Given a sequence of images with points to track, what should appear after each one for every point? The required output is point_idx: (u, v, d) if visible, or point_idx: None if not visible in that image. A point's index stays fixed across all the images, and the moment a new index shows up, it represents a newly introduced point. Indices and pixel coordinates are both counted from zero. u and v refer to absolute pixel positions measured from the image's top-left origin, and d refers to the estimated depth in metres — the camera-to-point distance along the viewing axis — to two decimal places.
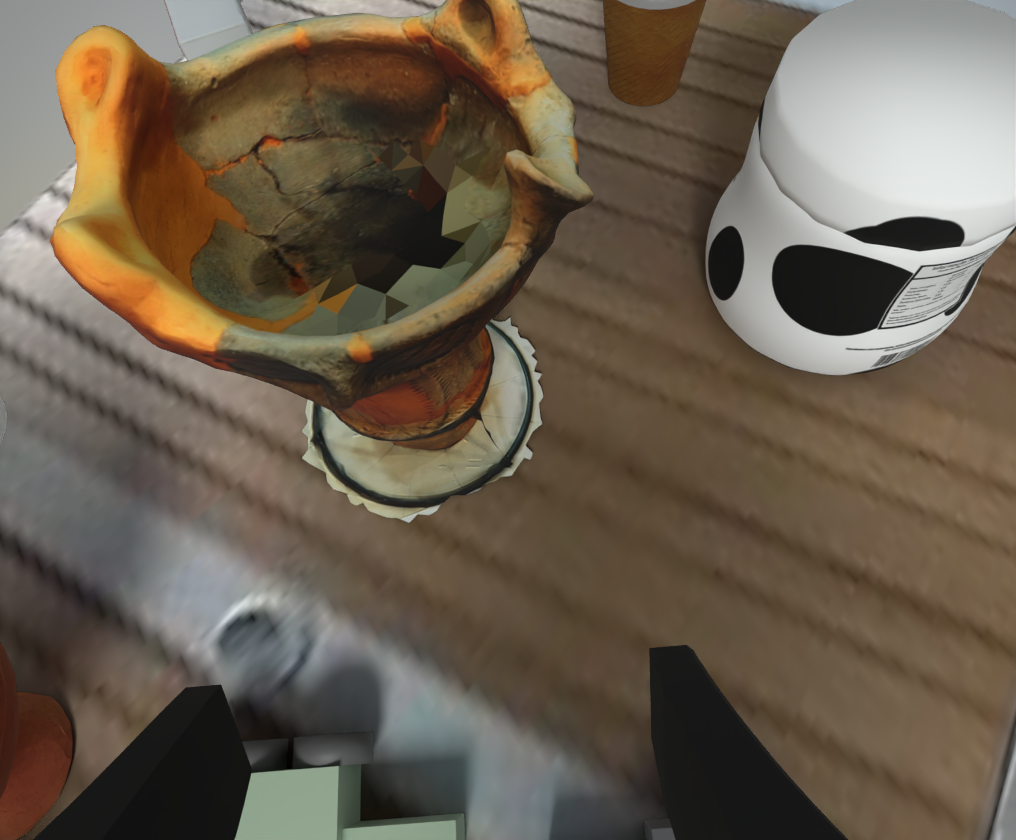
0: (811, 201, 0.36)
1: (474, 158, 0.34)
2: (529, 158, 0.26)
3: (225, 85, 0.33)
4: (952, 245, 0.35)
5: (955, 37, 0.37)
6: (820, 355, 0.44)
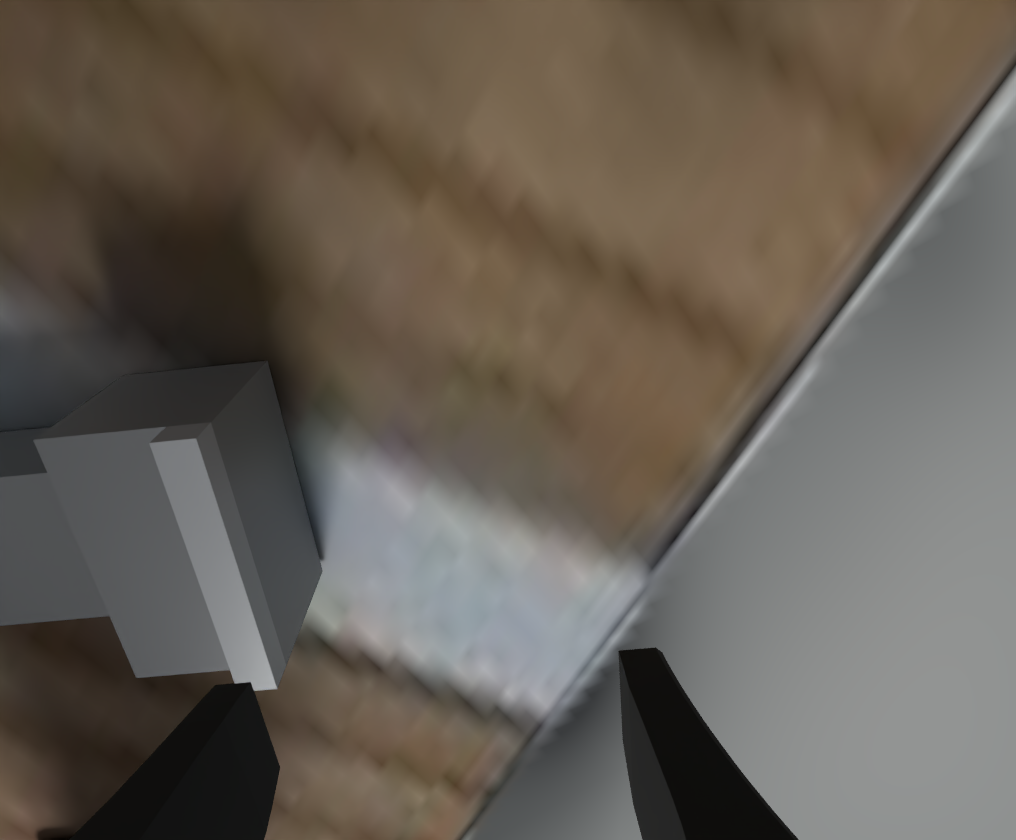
0: None
1: None
2: None
3: None
4: None
5: None
6: None
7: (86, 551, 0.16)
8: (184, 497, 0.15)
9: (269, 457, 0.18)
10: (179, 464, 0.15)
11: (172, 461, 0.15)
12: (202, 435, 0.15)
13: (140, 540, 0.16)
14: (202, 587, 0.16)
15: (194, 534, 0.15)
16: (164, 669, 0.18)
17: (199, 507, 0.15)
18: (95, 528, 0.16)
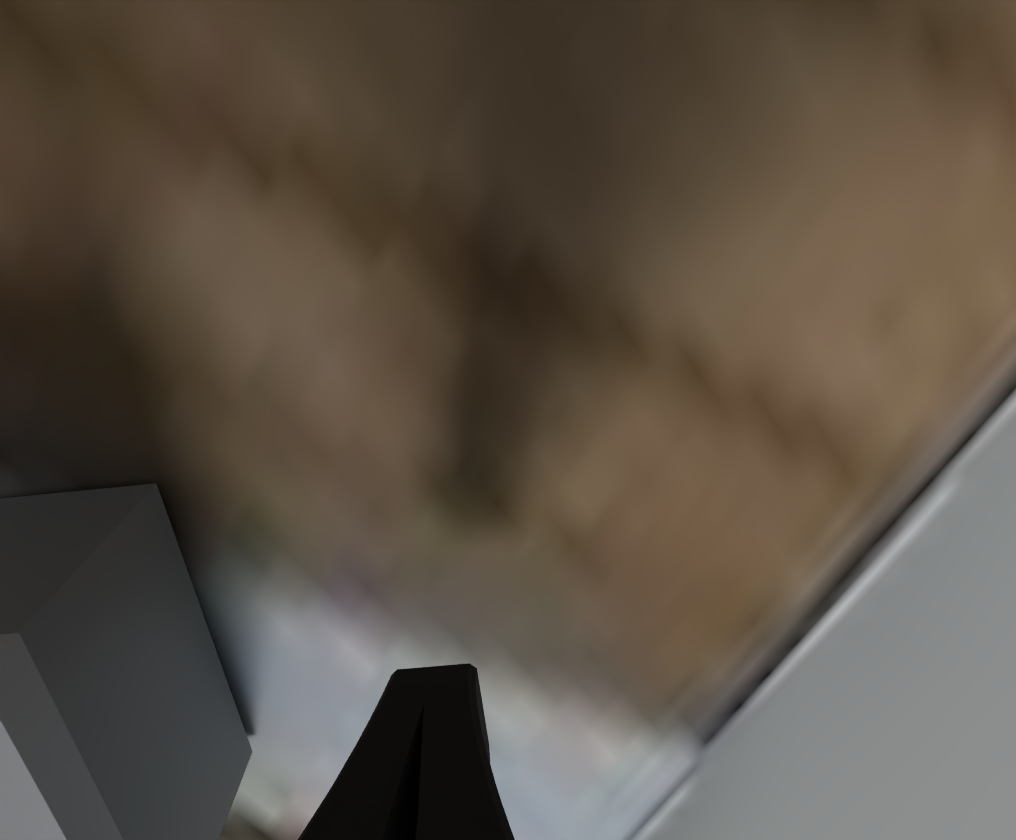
0: None
1: None
2: None
3: None
4: None
5: None
6: None
7: None
8: None
9: (155, 632, 0.12)
10: None
11: None
12: None
13: None
14: None
15: None
16: None
17: None
18: None
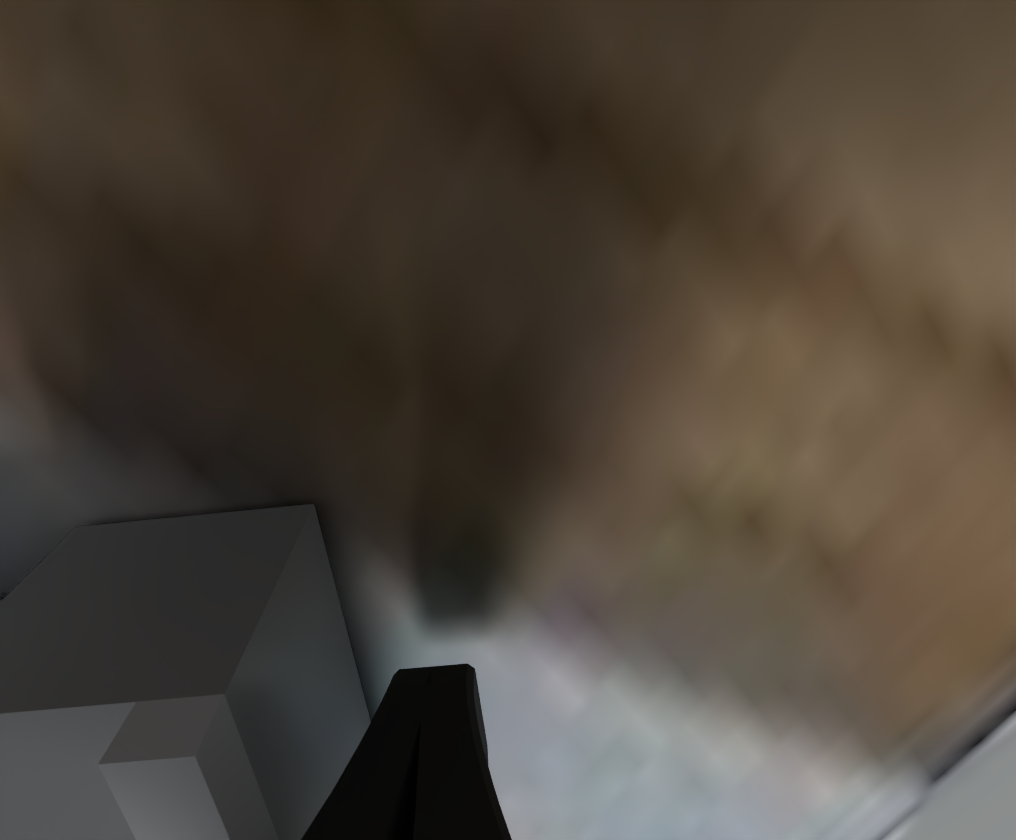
0: None
1: None
2: None
3: None
4: None
5: None
6: None
7: None
8: None
9: (320, 674, 0.11)
10: (162, 799, 0.07)
11: (146, 794, 0.07)
12: (207, 736, 0.07)
13: None
14: None
15: None
16: None
17: None
18: None
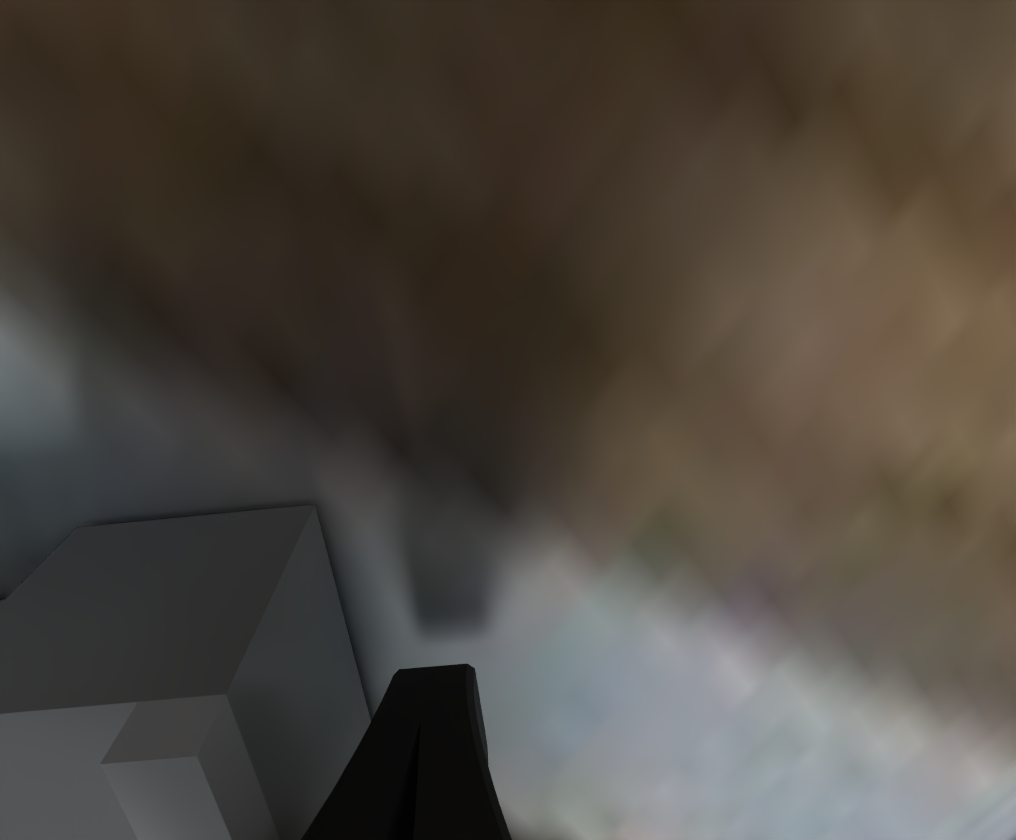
0: None
1: None
2: None
3: None
4: None
5: None
6: None
7: None
8: None
9: (321, 674, 0.11)
10: (165, 798, 0.07)
11: (149, 793, 0.07)
12: (209, 735, 0.07)
13: None
14: None
15: None
16: None
17: None
18: None
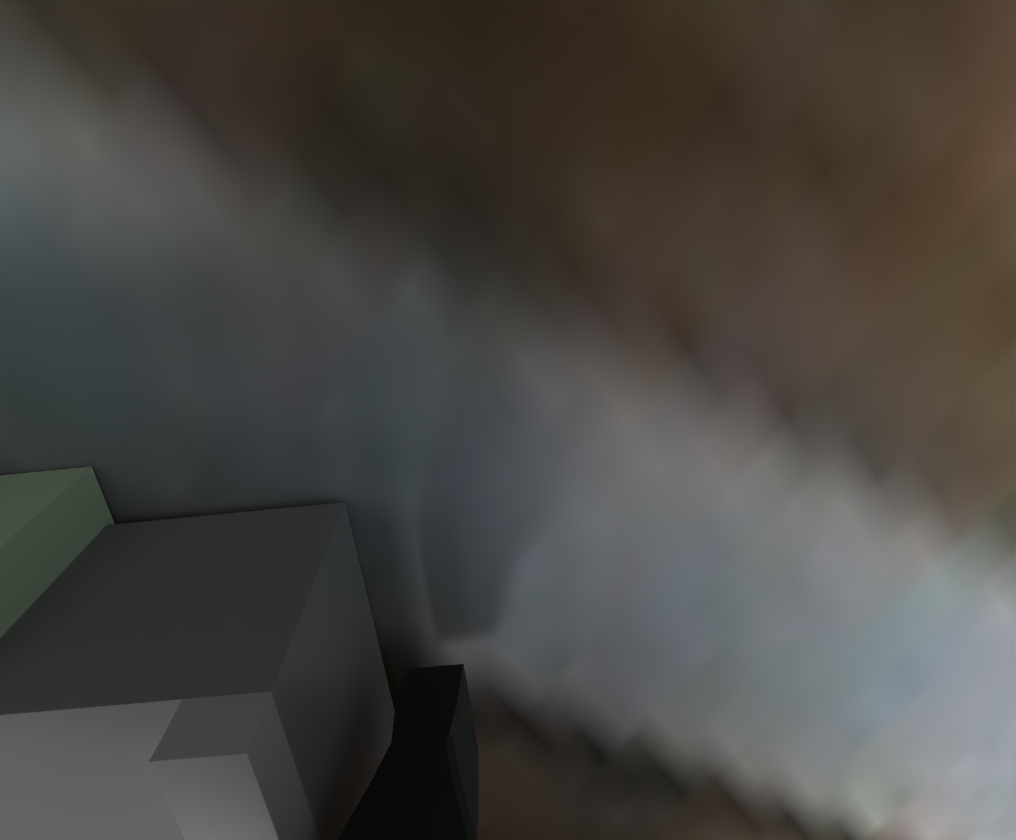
0: None
1: None
2: None
3: None
4: None
5: None
6: None
7: None
8: None
9: (353, 672, 0.11)
10: (212, 795, 0.07)
11: (197, 791, 0.07)
12: (258, 733, 0.07)
13: None
14: None
15: None
16: None
17: None
18: None
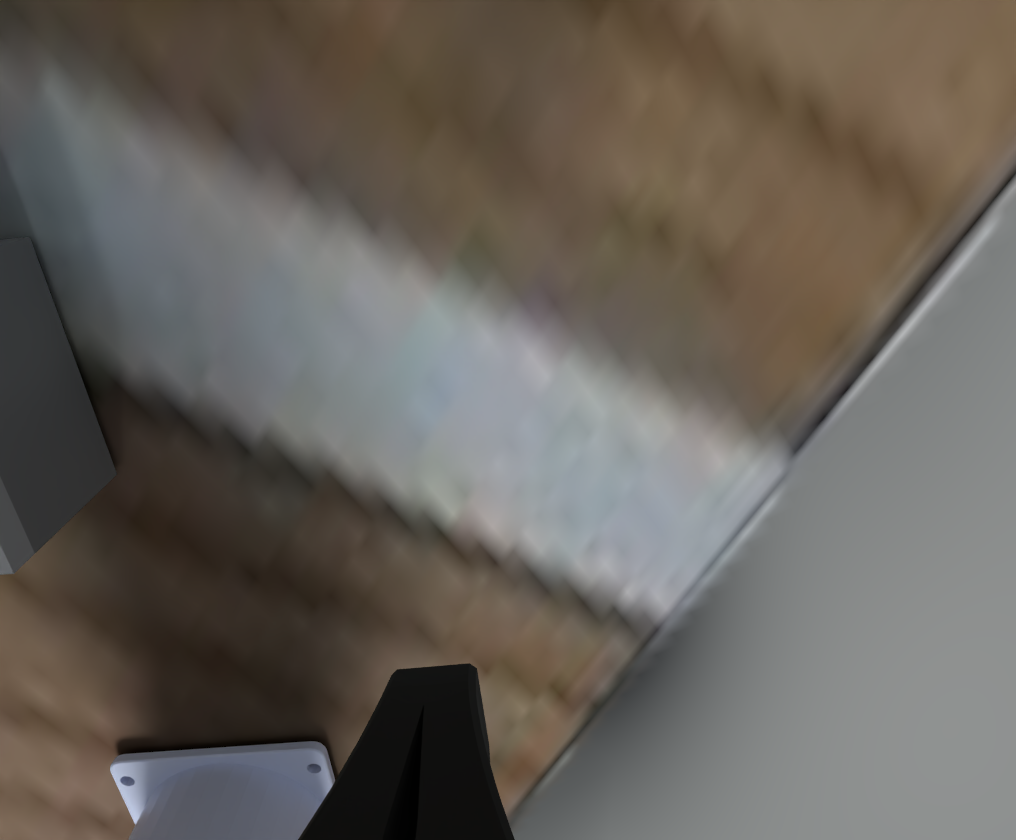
0: None
1: None
2: None
3: None
4: None
5: None
6: None
7: None
8: None
9: (24, 336, 0.17)
10: None
11: None
12: None
13: None
14: None
15: None
16: None
17: None
18: None
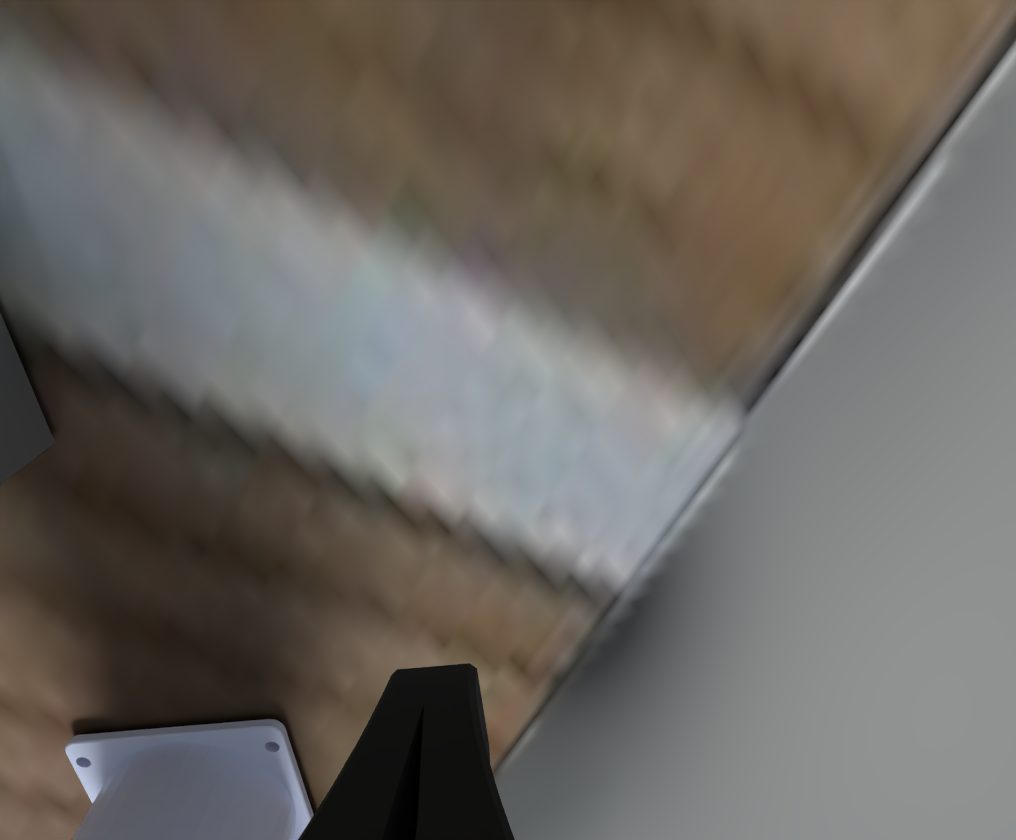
0: None
1: None
2: None
3: None
4: None
5: None
6: None
7: None
8: None
9: None
10: None
11: None
12: None
13: None
14: None
15: None
16: None
17: None
18: None
